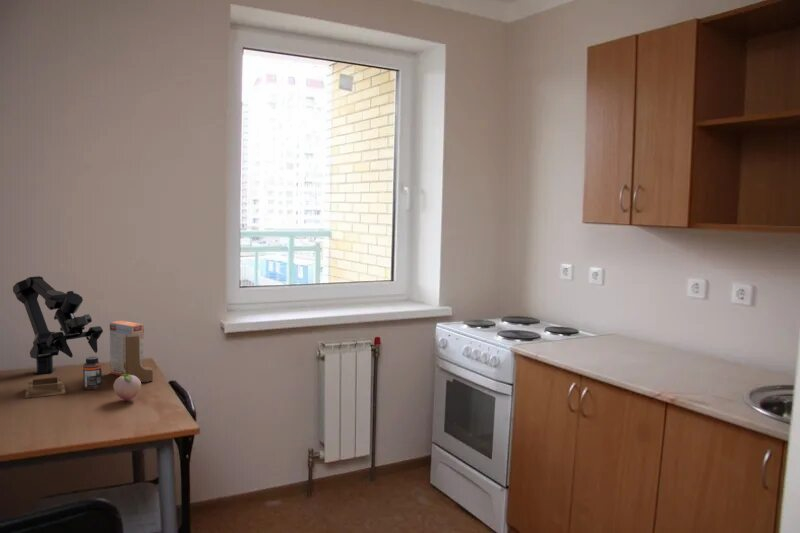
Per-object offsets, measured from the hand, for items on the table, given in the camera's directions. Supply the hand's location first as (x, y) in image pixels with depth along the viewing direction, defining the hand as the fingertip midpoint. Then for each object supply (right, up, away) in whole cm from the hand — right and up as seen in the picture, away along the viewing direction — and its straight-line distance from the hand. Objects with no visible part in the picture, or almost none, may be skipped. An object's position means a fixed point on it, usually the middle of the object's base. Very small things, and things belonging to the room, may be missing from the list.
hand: (84, 354), depth 225 cm
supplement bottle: (+4, -12, -2) cm, 13 cm away
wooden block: (+17, -12, +8) cm, 22 cm away
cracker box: (+9, -11, +16) cm, 21 cm away
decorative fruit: (+23, -14, -15) cm, 31 cm away
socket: (-10, -12, -7) cm, 17 cm away
